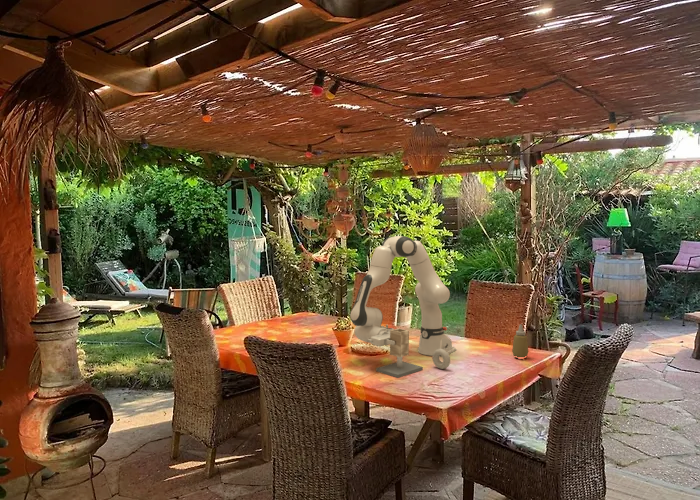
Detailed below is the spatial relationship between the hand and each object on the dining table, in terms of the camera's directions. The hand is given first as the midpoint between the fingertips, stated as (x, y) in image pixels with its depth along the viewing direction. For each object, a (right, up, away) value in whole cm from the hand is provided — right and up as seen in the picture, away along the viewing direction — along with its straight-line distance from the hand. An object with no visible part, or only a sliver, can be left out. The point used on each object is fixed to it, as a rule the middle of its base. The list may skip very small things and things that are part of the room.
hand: (400, 341), depth 248 cm
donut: (+20, -14, +4) cm, 25 cm away
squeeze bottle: (+65, -13, +22) cm, 70 cm away
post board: (0, -14, +2) cm, 14 cm away
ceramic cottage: (-5, -11, +57) cm, 58 cm away
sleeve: (-1, -7, +1) cm, 7 cm away
